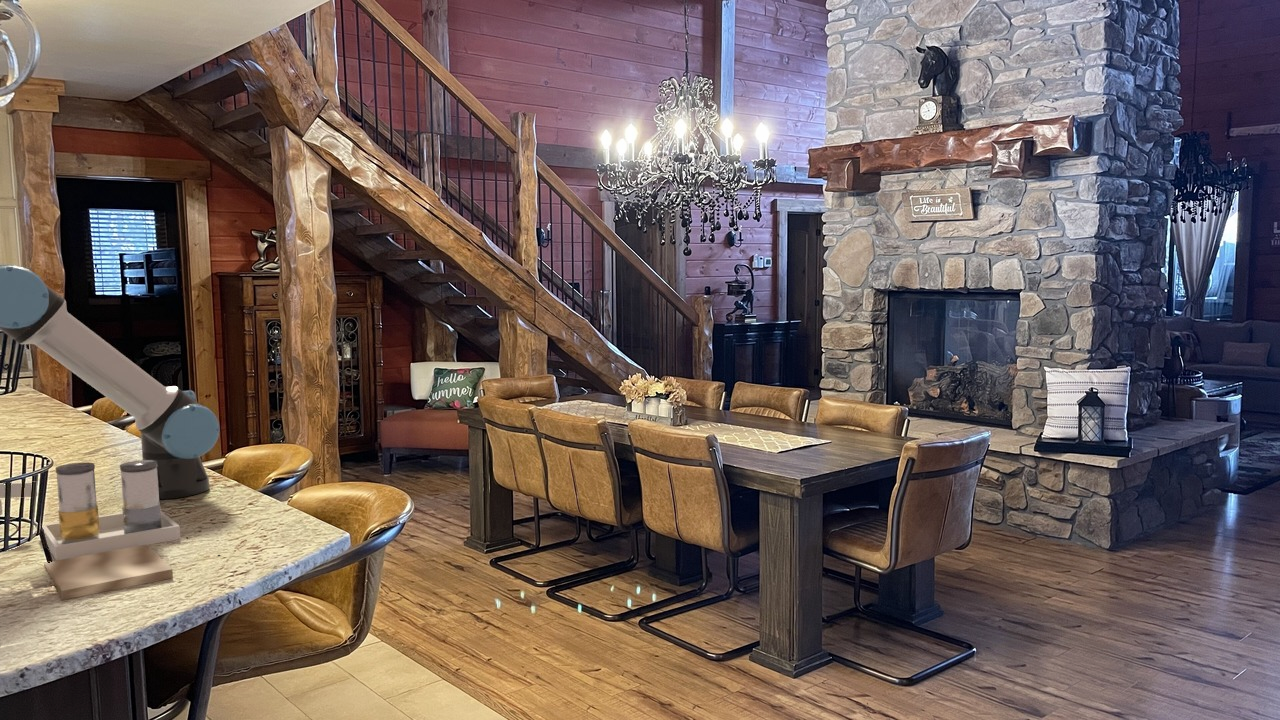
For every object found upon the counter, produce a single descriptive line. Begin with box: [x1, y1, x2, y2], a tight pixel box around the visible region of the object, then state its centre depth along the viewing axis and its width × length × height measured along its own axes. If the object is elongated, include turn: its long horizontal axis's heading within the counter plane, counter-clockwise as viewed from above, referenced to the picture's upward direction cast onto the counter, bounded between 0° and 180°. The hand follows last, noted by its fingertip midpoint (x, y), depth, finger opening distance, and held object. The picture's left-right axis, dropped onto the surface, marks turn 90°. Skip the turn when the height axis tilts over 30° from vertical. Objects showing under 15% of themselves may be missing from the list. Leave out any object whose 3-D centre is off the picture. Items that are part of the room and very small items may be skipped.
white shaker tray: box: [42, 510, 181, 561], centre depth 180 cm, size 20×18×4 cm
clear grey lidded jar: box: [119, 459, 162, 534], centre depth 180 cm, size 6×6×14 cm
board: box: [43, 545, 174, 601], centre depth 163 cm, size 16×18×2 cm
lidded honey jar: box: [55, 462, 100, 544], centre depth 179 cm, size 6×6×14 cm
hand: (19, 497), depth 177 cm, fingers open, 13 cm apart
